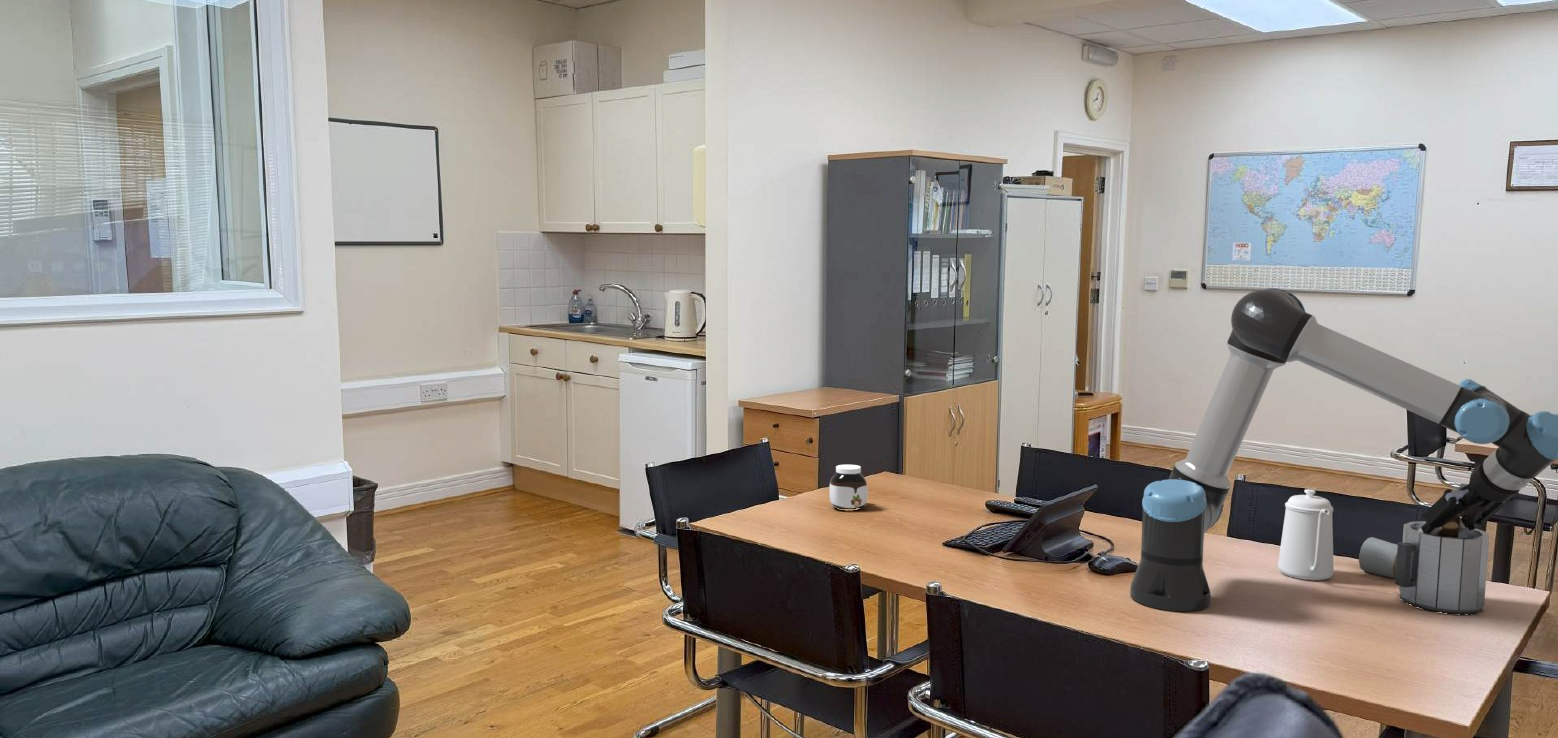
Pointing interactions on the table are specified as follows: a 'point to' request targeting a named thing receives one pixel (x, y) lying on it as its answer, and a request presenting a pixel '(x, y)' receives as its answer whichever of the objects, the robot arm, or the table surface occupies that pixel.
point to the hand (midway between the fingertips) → (1430, 539)
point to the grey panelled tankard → (1442, 570)
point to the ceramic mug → (1378, 557)
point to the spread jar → (848, 488)
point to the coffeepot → (1307, 538)
